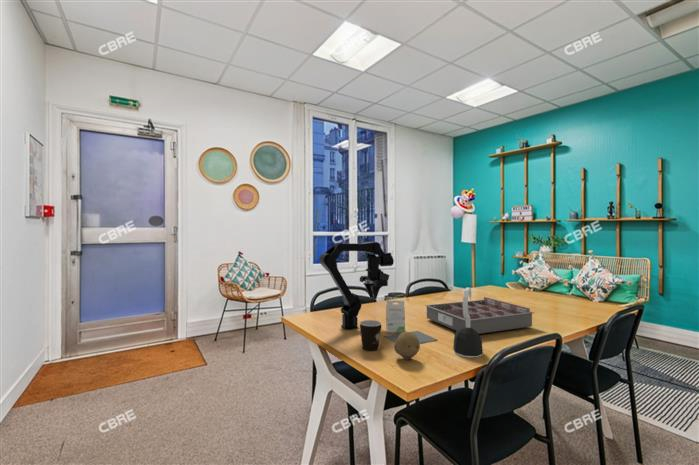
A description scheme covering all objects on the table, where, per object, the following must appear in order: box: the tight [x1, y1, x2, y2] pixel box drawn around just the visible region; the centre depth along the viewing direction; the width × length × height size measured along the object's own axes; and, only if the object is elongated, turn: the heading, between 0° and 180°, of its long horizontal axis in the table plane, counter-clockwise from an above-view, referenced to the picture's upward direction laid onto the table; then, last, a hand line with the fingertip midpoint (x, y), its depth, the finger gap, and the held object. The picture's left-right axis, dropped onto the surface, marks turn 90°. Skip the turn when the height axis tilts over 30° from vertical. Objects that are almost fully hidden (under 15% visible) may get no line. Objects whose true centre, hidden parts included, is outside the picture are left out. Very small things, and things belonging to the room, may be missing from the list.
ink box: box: [385, 299, 406, 334], centre depth 155 cm, size 9×5×15 cm, turn 84°
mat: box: [383, 330, 438, 344], centre depth 145 cm, size 18×14×1 cm
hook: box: [452, 287, 484, 358], centre depth 128 cm, size 11×11×25 cm
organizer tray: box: [424, 296, 535, 335], centre depth 167 cm, size 32×40×10 cm
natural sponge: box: [393, 331, 421, 360], centre depth 121 cm, size 9×9×10 cm
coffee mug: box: [359, 319, 382, 352], centre depth 133 cm, size 12×9×10 cm
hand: (373, 298), depth 166 cm, fingers open, 4 cm apart
